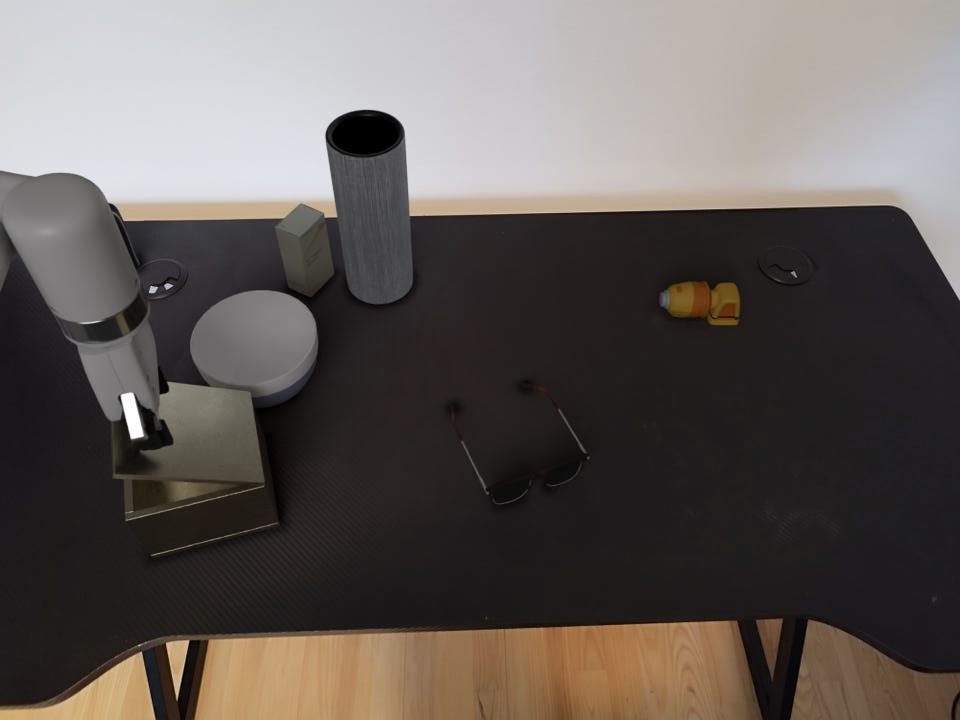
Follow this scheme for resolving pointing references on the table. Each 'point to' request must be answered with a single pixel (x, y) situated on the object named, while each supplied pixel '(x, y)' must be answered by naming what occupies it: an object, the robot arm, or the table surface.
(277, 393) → the white round container
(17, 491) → the table surface
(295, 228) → the cosmetic box
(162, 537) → the brown hollow box
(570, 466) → the sunglasses
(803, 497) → the table surface
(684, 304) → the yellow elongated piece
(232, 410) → the lid
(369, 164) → the vase
